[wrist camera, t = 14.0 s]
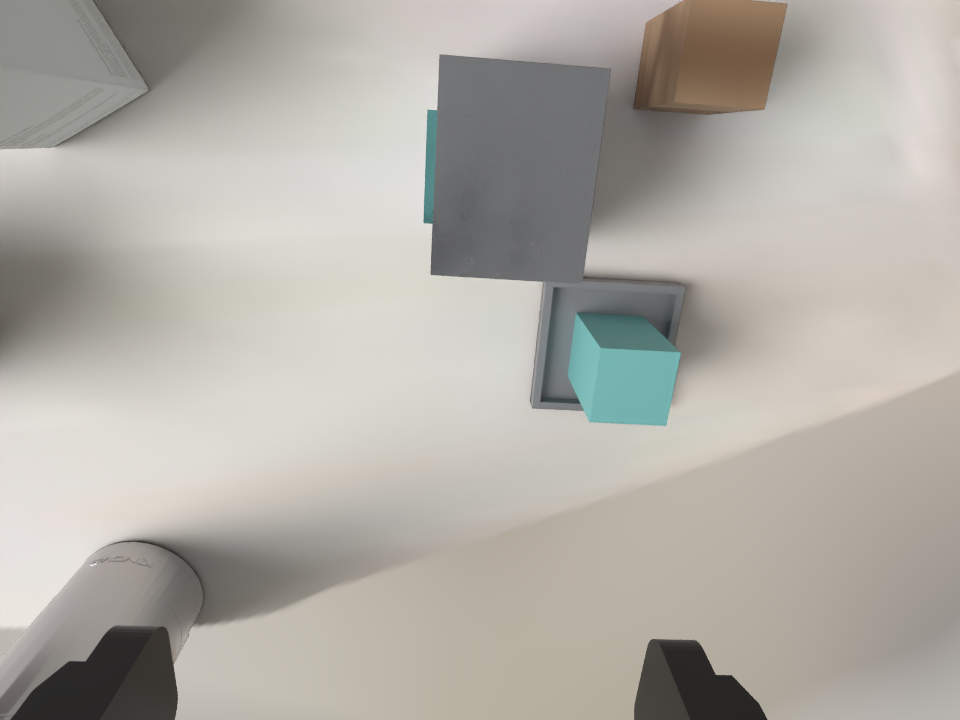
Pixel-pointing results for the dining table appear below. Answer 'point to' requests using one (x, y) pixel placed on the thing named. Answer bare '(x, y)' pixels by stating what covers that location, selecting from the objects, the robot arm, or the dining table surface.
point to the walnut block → (709, 56)
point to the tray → (596, 297)
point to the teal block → (622, 369)
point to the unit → (513, 168)
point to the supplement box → (59, 71)
